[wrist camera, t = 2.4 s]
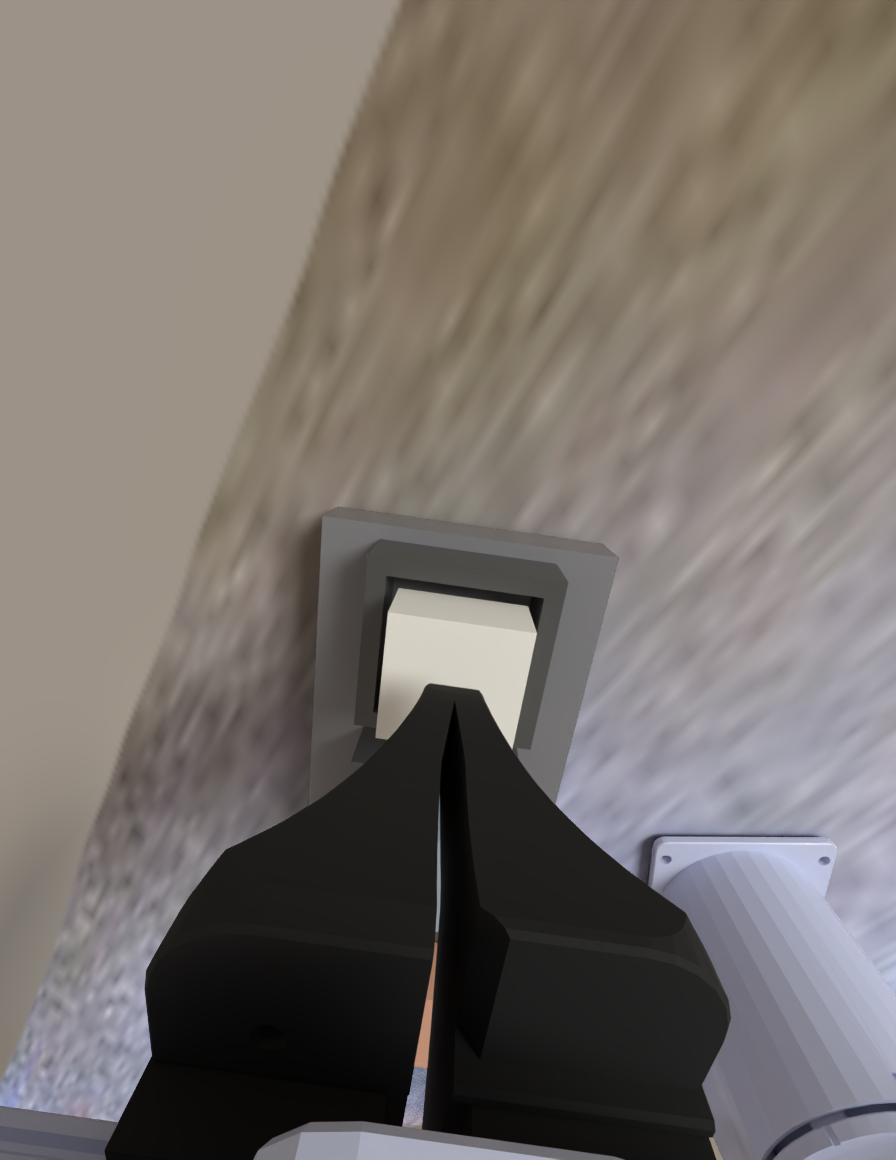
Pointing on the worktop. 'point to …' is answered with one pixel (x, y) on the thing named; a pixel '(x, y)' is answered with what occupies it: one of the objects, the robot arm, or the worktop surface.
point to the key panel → (460, 568)
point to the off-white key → (454, 654)
